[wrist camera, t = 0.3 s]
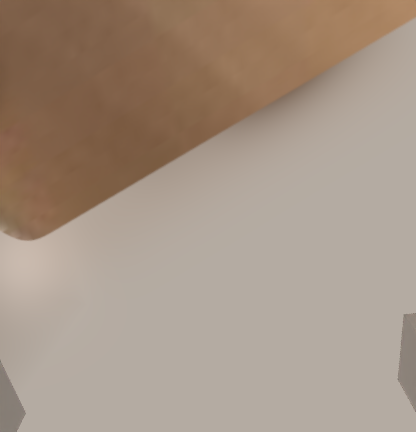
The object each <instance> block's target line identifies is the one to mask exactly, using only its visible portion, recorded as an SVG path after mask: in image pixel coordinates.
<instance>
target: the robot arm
mask: <svg viewBox="0 0 416 432" xmlns="http://www.w3.org/2000/svg"><path fill="white" fill-rule="evenodd" d="M398 380H399V382H400V384H401V386H402V388H403V390H404V391H405V393H406V395H407V397H408V399H409V400H410V402H411V404H412V406H413V408H414V409H415V411H416V313H415V314H414V313H413V314H405V315H404V318H403V329H402V340H401V351H400V363H399V373H398ZM24 416H25V411H24V408H23V406H22V404H21V402H20V400H19V398H18V396H17V394H16V392H15V390H14V388H13V386H12V384H11V382H10V380H9V378H8V376H7V374H6V371H5V369H4V367H3V365H2V364H1V361H0V432H17V430H18V428H19V426H20V424H21V422H22V419H23V418H24Z"/></svg>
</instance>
